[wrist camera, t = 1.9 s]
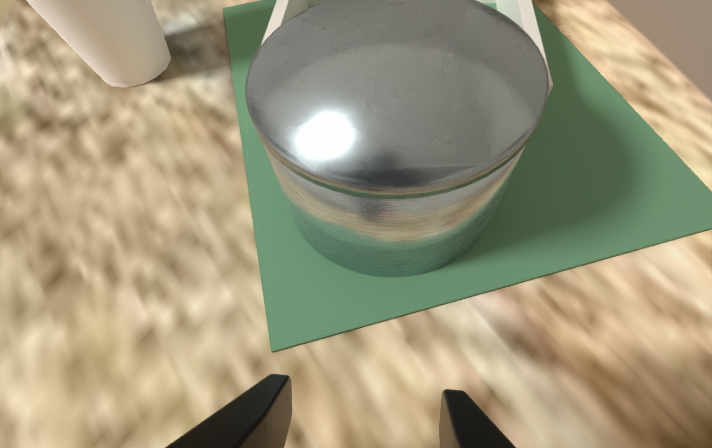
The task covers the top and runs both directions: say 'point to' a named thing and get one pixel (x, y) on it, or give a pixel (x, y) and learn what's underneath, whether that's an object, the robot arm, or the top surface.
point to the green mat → (512, 216)
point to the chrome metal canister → (395, 125)
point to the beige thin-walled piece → (510, 3)
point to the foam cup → (111, 37)
